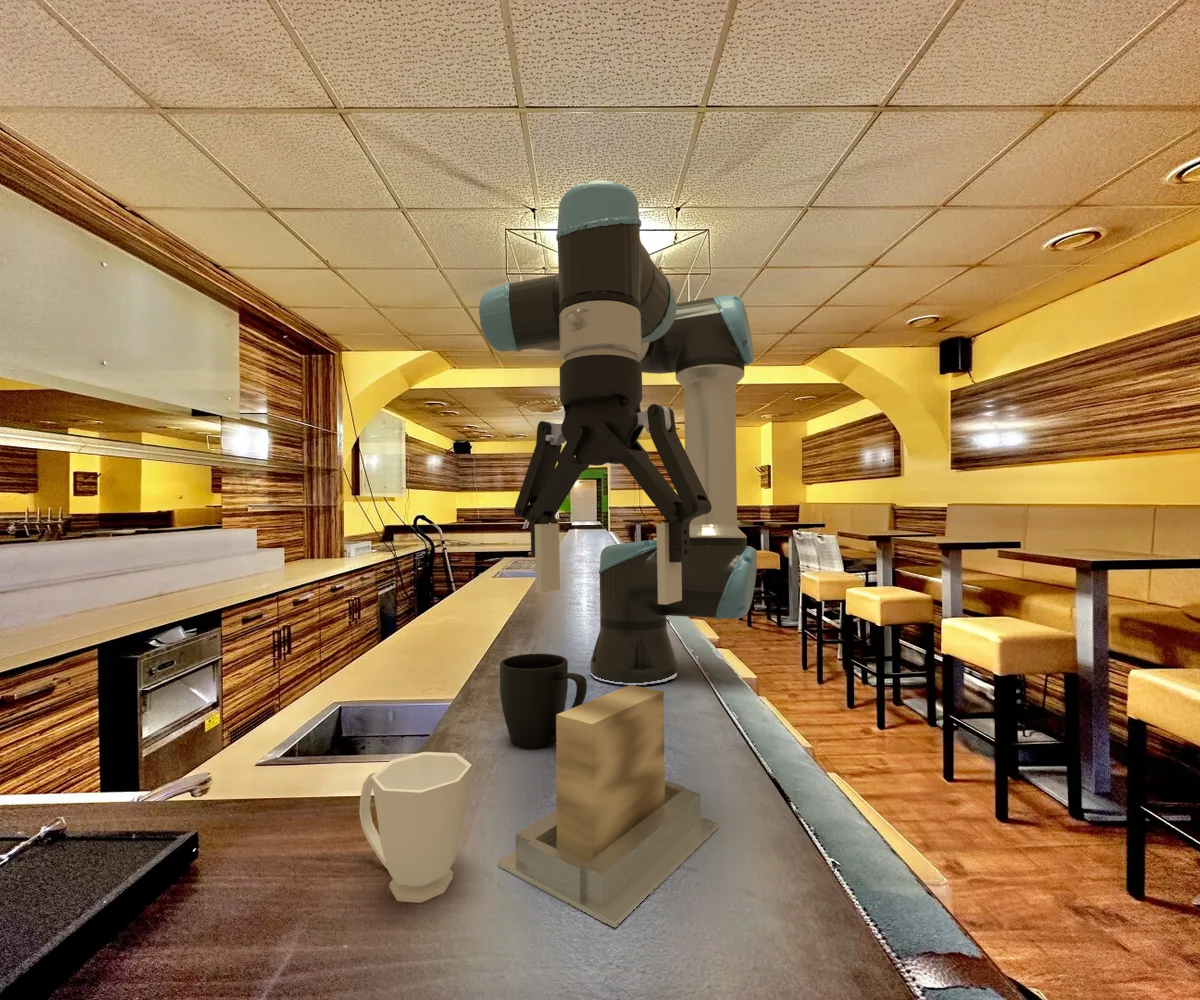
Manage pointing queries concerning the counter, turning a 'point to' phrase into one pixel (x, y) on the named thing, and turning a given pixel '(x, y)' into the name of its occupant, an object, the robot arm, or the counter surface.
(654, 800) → the wooden block
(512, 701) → the mug
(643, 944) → the counter surface
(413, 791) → the cup
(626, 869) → the beige piece
